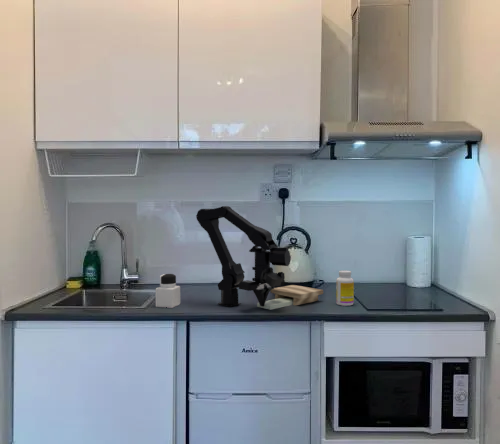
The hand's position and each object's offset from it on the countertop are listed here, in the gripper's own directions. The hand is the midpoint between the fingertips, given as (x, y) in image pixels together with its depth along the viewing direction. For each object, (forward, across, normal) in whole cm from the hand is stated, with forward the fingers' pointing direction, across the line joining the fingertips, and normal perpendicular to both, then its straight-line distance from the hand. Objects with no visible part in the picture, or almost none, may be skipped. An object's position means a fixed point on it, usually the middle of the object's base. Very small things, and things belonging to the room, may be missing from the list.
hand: (262, 306), depth 180 cm
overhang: (+1, +19, 0) cm, 19 cm away
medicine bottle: (+1, -23, +28) cm, 36 cm away
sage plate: (+1, +8, 0) cm, 8 cm away
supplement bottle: (+1, +28, -16) cm, 33 cm away
